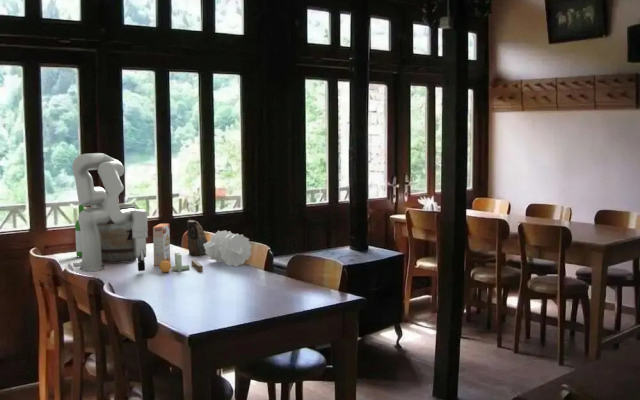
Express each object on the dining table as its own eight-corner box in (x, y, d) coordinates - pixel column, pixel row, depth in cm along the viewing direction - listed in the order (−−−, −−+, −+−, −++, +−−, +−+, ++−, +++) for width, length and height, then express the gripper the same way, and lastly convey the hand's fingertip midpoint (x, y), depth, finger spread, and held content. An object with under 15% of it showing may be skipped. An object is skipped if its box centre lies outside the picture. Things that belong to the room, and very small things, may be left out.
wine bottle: (86, 258, 389) (83, 205, 386) (73, 257, 391) (71, 205, 388) (93, 255, 397) (91, 203, 394) (81, 255, 399) (78, 203, 395)
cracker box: (165, 266, 364) (163, 226, 362) (153, 266, 364) (152, 226, 362) (171, 260, 378) (169, 223, 376) (160, 261, 378) (158, 223, 376)
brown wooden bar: (198, 272, 348) (198, 266, 347) (191, 265, 364) (191, 260, 364) (202, 271, 348) (202, 265, 348) (195, 265, 365) (195, 259, 365)
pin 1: (175, 269, 353) (175, 253, 353) (174, 269, 356) (174, 252, 355) (180, 269, 354) (179, 253, 353) (179, 268, 357) (179, 252, 356)
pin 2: (177, 271, 349) (176, 255, 348) (176, 270, 351) (176, 254, 350) (182, 271, 350) (181, 254, 349) (181, 270, 352) (180, 254, 351)
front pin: (172, 267, 350) (189, 265, 353) (171, 265, 352) (188, 264, 355) (172, 271, 350) (189, 270, 354) (171, 270, 353) (188, 268, 356)
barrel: (145, 259, 380) (143, 205, 379) (110, 264, 363) (108, 207, 361) (119, 256, 394) (118, 204, 393) (85, 261, 376) (83, 206, 375)
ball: (172, 273, 347) (160, 275, 346) (172, 266, 352) (160, 269, 351) (170, 263, 344) (158, 266, 343) (169, 257, 349) (157, 259, 348)
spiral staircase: (224, 267, 380) (248, 271, 360) (197, 256, 370) (220, 261, 350) (235, 235, 384) (259, 238, 364) (209, 224, 374) (232, 227, 354)
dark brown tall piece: (200, 257, 388) (198, 222, 386) (180, 256, 392) (179, 221, 390) (211, 253, 400) (210, 219, 398) (192, 252, 404) (190, 218, 402)
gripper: (130, 233, 349) (132, 268, 351) (134, 237, 335) (135, 274, 337) (145, 231, 352) (147, 267, 354) (149, 236, 338) (151, 272, 340)
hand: (141, 270), depth 346 cm, fingers closed
